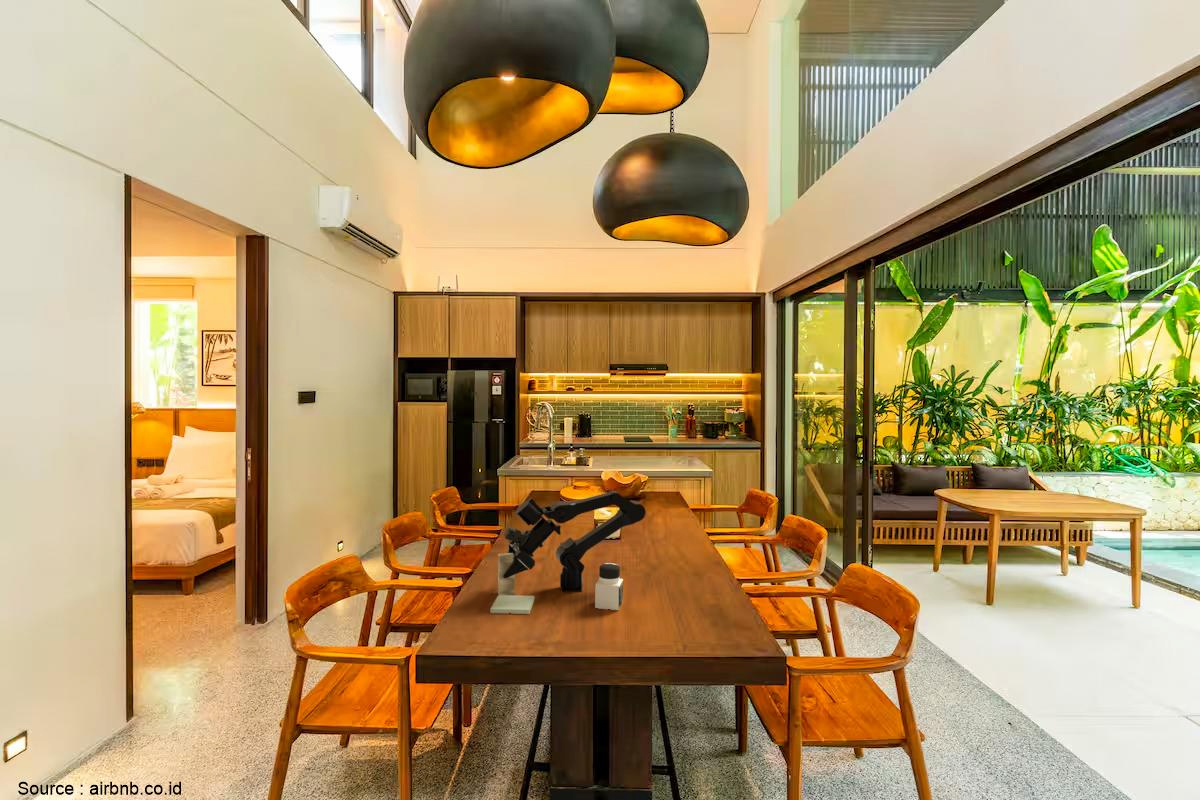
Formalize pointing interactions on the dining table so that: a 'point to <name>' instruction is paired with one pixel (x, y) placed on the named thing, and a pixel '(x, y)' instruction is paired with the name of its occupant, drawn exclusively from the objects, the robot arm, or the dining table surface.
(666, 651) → the dining table surface
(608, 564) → the medicine bottle
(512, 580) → the birch block
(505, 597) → the board
